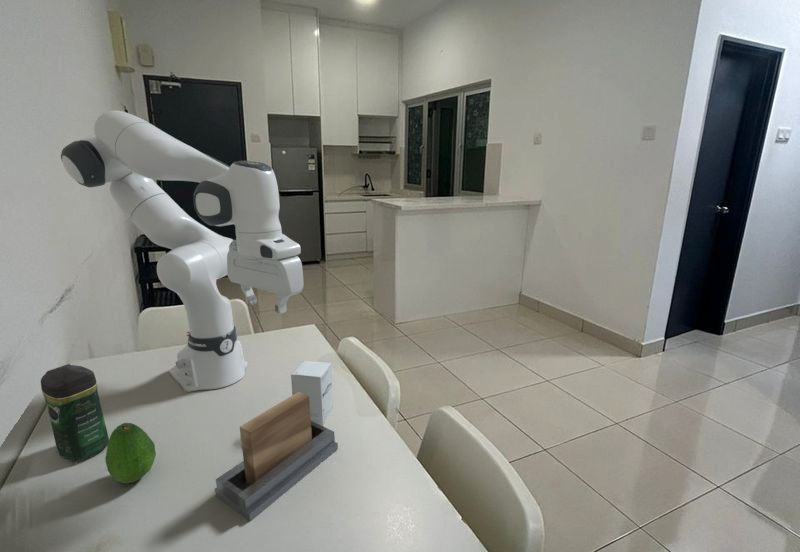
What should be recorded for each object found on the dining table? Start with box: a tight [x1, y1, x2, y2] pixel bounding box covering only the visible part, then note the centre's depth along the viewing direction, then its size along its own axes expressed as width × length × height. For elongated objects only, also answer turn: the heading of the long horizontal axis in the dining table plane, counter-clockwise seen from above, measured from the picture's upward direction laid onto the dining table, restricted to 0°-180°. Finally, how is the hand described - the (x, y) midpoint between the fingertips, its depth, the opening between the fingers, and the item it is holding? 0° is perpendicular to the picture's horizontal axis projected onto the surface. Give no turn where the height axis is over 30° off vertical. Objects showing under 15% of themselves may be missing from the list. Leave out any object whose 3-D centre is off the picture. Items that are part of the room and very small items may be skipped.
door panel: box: [239, 392, 312, 485], centre depth 80 cm, size 3×14×12 cm, turn 146°
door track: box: [214, 421, 339, 522], centre depth 81 cm, size 10×22×4 cm, turn 146°
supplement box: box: [290, 360, 334, 426], centre depth 98 cm, size 7×7×13 cm
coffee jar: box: [40, 363, 110, 463], centre depth 86 cm, size 10×8×19 cm
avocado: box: [104, 422, 157, 484], centre depth 78 cm, size 8×8×12 cm
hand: (266, 307), depth 88 cm, fingers open, 8 cm apart
